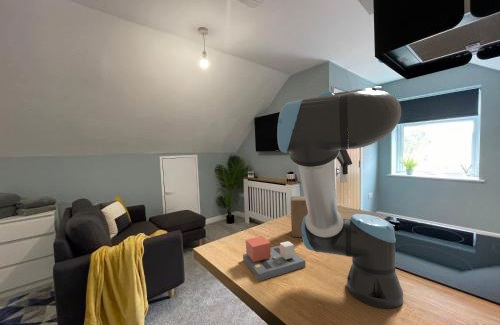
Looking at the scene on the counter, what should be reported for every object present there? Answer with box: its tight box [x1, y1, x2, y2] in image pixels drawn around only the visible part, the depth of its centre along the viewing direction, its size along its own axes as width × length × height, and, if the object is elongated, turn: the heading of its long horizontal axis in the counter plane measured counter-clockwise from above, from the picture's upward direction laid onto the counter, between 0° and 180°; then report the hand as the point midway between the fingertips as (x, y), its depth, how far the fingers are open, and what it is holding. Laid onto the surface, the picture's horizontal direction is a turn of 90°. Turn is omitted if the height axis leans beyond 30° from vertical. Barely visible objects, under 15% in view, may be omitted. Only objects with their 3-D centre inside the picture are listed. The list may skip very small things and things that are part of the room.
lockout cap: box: [245, 236, 271, 262], centre depth 85 cm, size 8×8×6 cm
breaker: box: [279, 240, 295, 259], centre depth 83 cm, size 4×4×5 cm
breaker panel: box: [242, 245, 306, 282], centre depth 84 cm, size 16×20×3 cm
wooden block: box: [290, 195, 308, 238], centre depth 112 cm, size 10×10×20 cm
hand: (331, 180), depth 90 cm, fingers open, 13 cm apart
